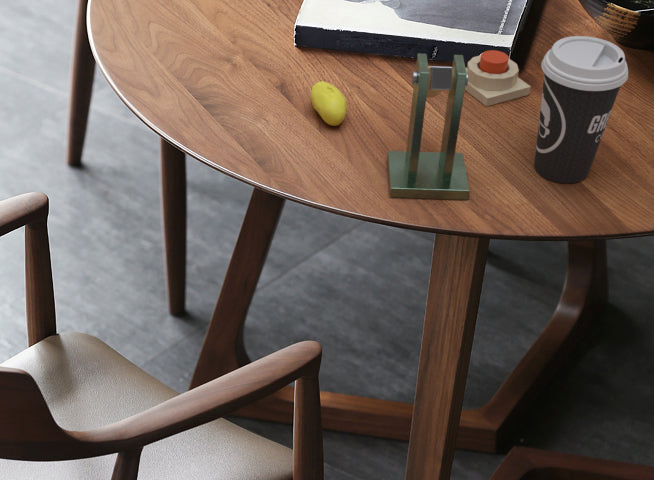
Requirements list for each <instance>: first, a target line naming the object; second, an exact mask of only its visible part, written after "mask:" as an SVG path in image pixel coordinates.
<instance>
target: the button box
mask: <svg viewBox="0 0 654 480" xmlns="http://www.w3.org/2000/svg"><path fill="white" fill-rule="evenodd" d="M480 58H481V54H480V55H476V56H472V58H471V59H470V60H468V62H467V64H466V65H467V66H466V67H465V68H466V73H468V84H467V86H465V90H464V91H465V92H467V94H470V96H471V97H473V98H475V99H476V100H477V101H478V102H480V103H481V104H482V105H483V106H484V107H489V106H492V105H493V106H494V105H496V104H501V103H504V102H507V101H511V100H515V99H519V98H523V97H526V96H529V95H530V94H531V93H530V92H531V88H532V86H531V85H529V84H528V83H527V82H525V81H524V80H522V79H521V78H520V77H519V71H520V69H519V66H518V64H517V62H515V61H513V60H512V59H511V58H509V60H508V65H507V71H506V72H505V73H502V74H489V73H486V72H483V71H481V70H480V69H479V65H480Z"/></svg>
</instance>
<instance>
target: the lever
mask: <svg viewBox="0 0 654 480" xmlns="http://www.w3.org/2000/svg"><path fill="white" fill-rule="evenodd" d="M428 67H429V81H428V89H427V97H426V99H431V98H435V97H437V96H439V95H440V94H441V93H442V92H443V91H445V92H447V91H448V92H449V90H451V81H452V66H433V65H428Z"/></svg>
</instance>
